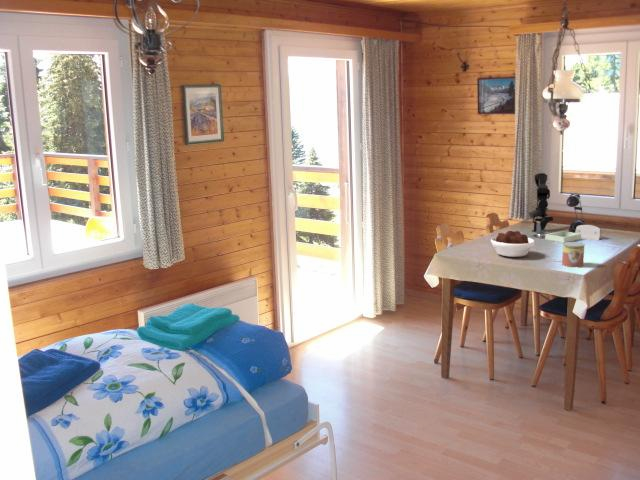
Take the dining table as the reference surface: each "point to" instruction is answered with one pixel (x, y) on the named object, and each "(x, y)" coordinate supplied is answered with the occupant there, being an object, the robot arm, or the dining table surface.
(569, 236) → the bin
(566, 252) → the canned food
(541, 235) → the stud
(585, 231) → the white arched block
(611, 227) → the dining table surface
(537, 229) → the strut
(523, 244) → the bowl of brown food
